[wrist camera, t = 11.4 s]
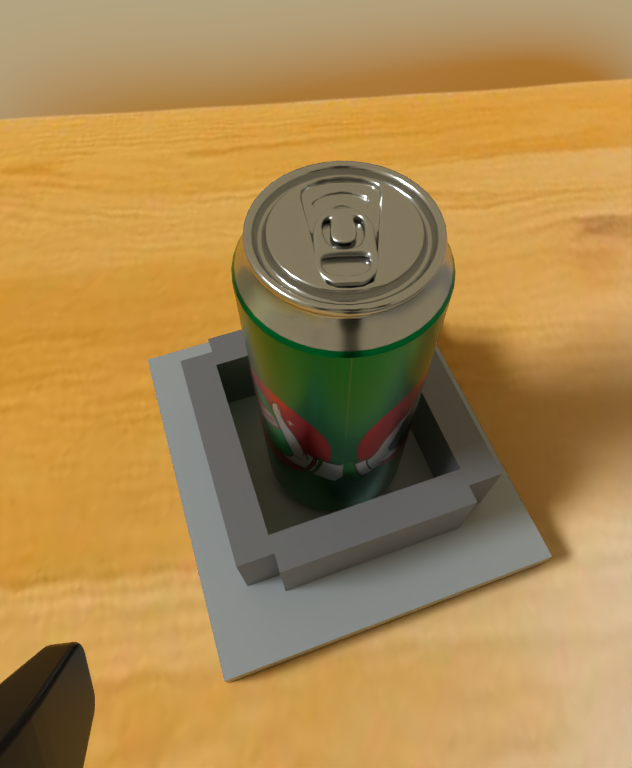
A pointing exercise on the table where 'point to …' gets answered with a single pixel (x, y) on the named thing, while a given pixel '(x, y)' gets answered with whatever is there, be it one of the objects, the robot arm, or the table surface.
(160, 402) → the socket
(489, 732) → the table surface
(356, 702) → the table surface
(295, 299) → the soda can
